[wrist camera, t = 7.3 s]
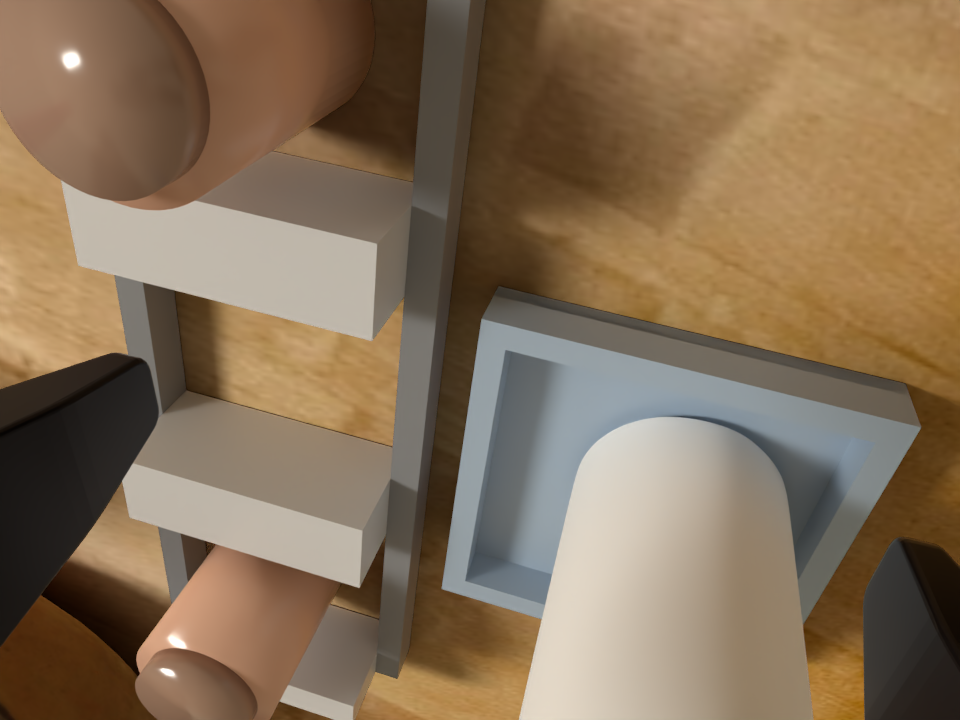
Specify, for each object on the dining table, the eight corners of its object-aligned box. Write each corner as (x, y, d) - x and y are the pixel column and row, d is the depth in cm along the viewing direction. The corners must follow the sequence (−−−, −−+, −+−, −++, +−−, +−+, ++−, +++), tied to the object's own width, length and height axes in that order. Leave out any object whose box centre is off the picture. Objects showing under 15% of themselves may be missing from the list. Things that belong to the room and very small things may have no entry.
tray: (905, 383, 21) (921, 427, 19) (762, 638, 27) (765, 686, 26) (498, 285, 22) (481, 318, 21) (457, 548, 29) (441, 589, 27)
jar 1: (379, -72, 18) (198, -38, 12) (370, 134, 21) (221, 251, 15) (189, -105, 19) (-79, -90, 12) (206, 99, 22) (-4, 195, 15)
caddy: (507, -183, 16) (455, -195, 13) (409, 649, 33) (376, 733, 30) (69, -249, 18) (-75, -274, 14) (191, 580, 35) (137, 653, 32)
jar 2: (354, 512, 29) (256, 689, 23) (351, 594, 32) (262, 771, 26) (237, 478, 30) (110, 640, 24) (244, 561, 33) (132, 725, 27)
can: (826, 450, 22) (914, 919, 12) (735, 587, 26) (747, 1029, 16) (610, 379, 22) (530, 773, 13) (553, 523, 26) (457, 913, 16)
